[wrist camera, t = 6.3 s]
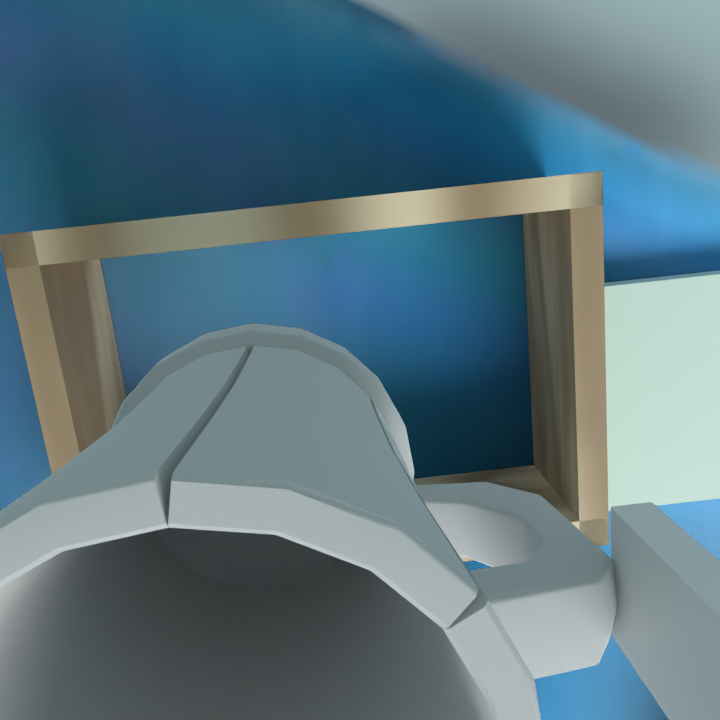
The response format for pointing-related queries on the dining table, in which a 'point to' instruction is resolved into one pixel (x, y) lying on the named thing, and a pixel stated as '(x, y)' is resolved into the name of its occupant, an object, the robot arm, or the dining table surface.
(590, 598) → the cup
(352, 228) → the caddy
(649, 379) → the mat
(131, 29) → the dining table surface
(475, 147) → the dining table surface
